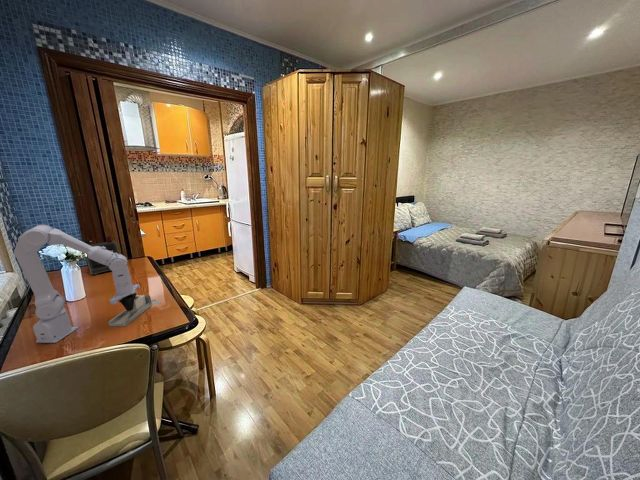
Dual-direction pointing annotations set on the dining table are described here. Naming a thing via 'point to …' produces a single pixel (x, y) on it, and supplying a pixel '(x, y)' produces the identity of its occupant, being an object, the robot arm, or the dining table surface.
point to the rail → (129, 315)
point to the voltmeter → (96, 266)
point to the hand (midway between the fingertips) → (129, 310)
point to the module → (138, 302)
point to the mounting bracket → (155, 302)
